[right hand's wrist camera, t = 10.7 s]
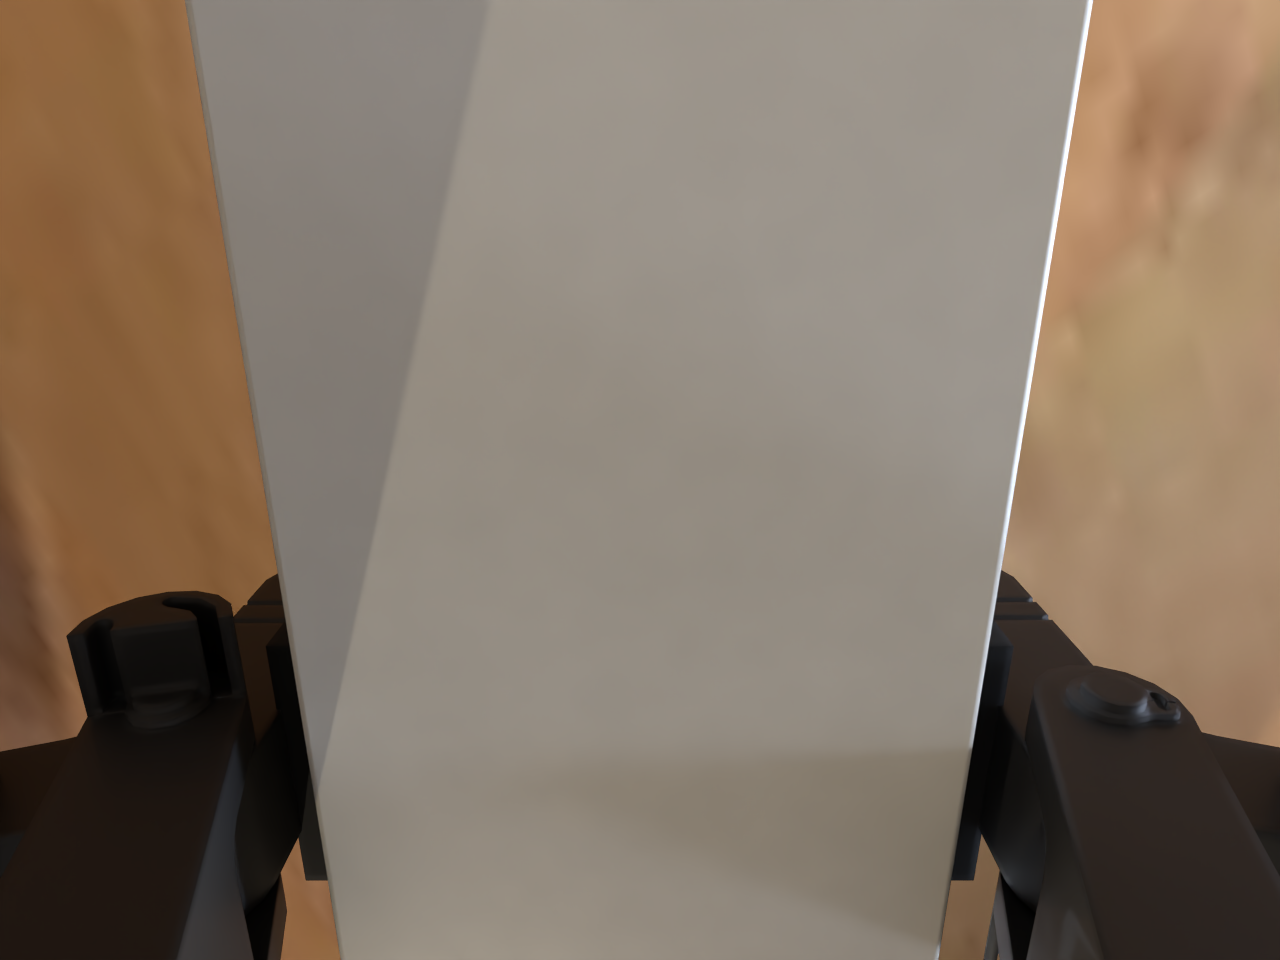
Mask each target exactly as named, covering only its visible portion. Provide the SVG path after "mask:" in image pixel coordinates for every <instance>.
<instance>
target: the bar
mask: <svg viewBox="0 0 1280 960" xmlns="http://www.w3.org/2000/svg"><path fill="white" fill-rule="evenodd" d="M1092 2H1093V0H185V4H186V11H187V17H188V23H189V29H190V35H191V41H192V47H193V54H194V60H195V66H196V72H197V78H198V84H199V90H200V97H201V103H202V109H203V115H204V121H205V127H206V134H207V140H208V146H209V152H210V158H211V164H212V170H213V177H214V183H215V189H216V195H217V201H218V207H219V213H220V220H221V226H222V232H223V238H224V244H225V250H226V256H227V263H228V269H229V275H230V281H231V287H232V293H233V300H234V306H235V312H236V318H237V324H238V330H239V336H240V343H241V349H242V355H243V361H244V367H245V373H246V379H247V386H248V392H249V398H250V404H251V410H252V416H253V423H254V429H255V435H256V441H257V447H258V453H259V459H260V466H261V472H262V478H263V484H264V490H265V496H266V502H267V509H268V515H269V521H270V527H271V533H272V539H273V545H274V552H275V558H276V564H277V570H278V576H279V582H280V589H281V595H282V601H283V607H284V613H285V619H286V625H287V632H288V638H289V644H290V650H291V656H292V662H293V668H294V675H295V681H296V687H297V693H298V699H299V705H300V711H301V718H302V724H303V730H304V736H305V742H306V748H307V755H308V761H309V767H310V773H311V779H312V785H313V791H314V798H315V804H316V810H317V816H318V822H319V828H320V834H321V841H322V847H323V853H324V859H325V865H326V871H327V878H328V884H329V890H330V896H331V902H332V908H333V914H334V921H335V927H336V933H337V939H338V945H339V951H340V957H341V960H938V958H939V951H940V945H941V939H942V933H943V927H944V920H945V914H946V908H947V902H948V896H949V889H950V883H951V877H952V871H953V865H954V858H955V852H956V846H957V840H958V834H959V827H960V821H961V815H962V809H963V803H964V796H965V790H966V784H967V778H968V771H969V765H970V759H971V753H972V747H973V740H974V734H975V728H976V722H977V716H978V709H979V703H980V697H981V691H982V685H983V678H984V672H985V666H986V660H987V654H988V647H989V641H990V635H991V629H992V623H993V616H994V610H995V604H996V598H997V592H998V585H999V579H1000V573H1001V567H1002V561H1003V554H1004V548H1005V542H1006V536H1007V530H1008V523H1009V517H1010V511H1011V505H1012V499H1013V492H1014V486H1015V480H1016V474H1017V468H1018V461H1019V455H1020V449H1021V443H1022V437H1023V430H1024V424H1025V418H1026V412H1027V406H1028V399H1029V393H1030V387H1031V381H1032V375H1033V368H1034V362H1035V356H1036V350H1037V344H1038V337H1039V331H1040V325H1041V319H1042V313H1043V306H1044V300H1045V294H1046V288H1047V281H1048V275H1049V269H1050V263H1051V257H1052V250H1053V244H1054V238H1055V232H1056V226H1057V219H1058V213H1059V207H1060V201H1061V195H1062V188H1063V182H1064V176H1065V170H1066V164H1067V157H1068V151H1069V145H1070V139H1071V133H1072V126H1073V120H1074V114H1075V108H1076V102H1077V95H1078V89H1079V83H1080V77H1081V71H1082V64H1083V58H1084V52H1085V46H1086V40H1087V33H1088V27H1089V21H1090V15H1091V9H1092Z"/></svg>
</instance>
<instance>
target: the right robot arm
mask: <svg viewBox="0 0 1280 960" xmlns="http://www.w3.org/2000/svg"><path fill="white" fill-rule="evenodd" d="M67 640H68V644H69V648H70V651H71V655H72V659H73V663H74V667H75V670H76V674H77V678H78V682H79V686H80V689H81V693H82V697H83V701H84V705H85V708H86V712H87V716H88V717H87V719H86V721H85V723H84V725H83V726H82V728H81V730H80V732H79V734H78V736H77V737H73V738H69V739H65V740H60V741H55V742H50V743H44V744H39V745H33V746H28V747H23V748H17V749H12V750H7V751H1V752H0V960H280V959H281V952H282V944H283V937H284V929H285V922H286V914H287V908H286V901H285V894H284V889H283V883H282V878H281V870H282V868H283V866H284V864H285V862H286V860H287V859H288V857H289V855H290V853H291V851H292V849H293V847H294V845H295V843H296V841H297V839H298V838H299V843H300V849H301V855H302V861H303V867H304V872H305V878H306V880H328V878H327V871H326V865H325V859H324V853H323V847H322V841H321V834H320V828H319V822H318V816H317V810H316V804H315V798H314V791H313V785H312V779H311V773H310V767H309V761H308V755H307V748H306V742H305V736H304V730H303V724H302V718H301V711H300V705H299V699H298V693H297V687H296V681H295V675H294V668H293V662H292V656H291V650H290V644H289V638H288V632H287V625H286V619H285V613H284V607H283V601H282V595H281V589H280V582H279V576H278V574H276V575H274V576H273V577H271V578H269V579H267V580H266V581H265V582H264V583H263V584H262V585H261V587H260V588H259V589H258V590H257V591H256V592H255V593H254V594H253V596H252V597H251V598H250V599H249V600H248V604H247V605H244V606H243V607H242V608H241V609H240V610H239V611H238V612H237V613H236V615H235V616H234V617H233V612H232V607H231V603H229V602H228V601H226V600H225V599H223V598H222V597H220V596H219V595H216V594H210V593H205V592H199V591H179V592H165V593H160V594H154V595H149V596H143V597H138V598H135V599H132V600H129V601H126V602H123V603H120V604H117V605H114V606H111V607H108V608H106V609H104V610H102V611H100V612H98V613H97V614H95V615H93V616H91V617H89V618H87V619H85V620H83V621H82V622H81V623H80V624H79V625H78V626H77V627H75V628H74V629H73V630H72V631H71V632H70V633H69V634H68V635H67ZM981 834H982V835H983V837H984V839H985V841H986V843H987V845H988V847H989V849H990V851H991V853H992V855H993V857H994V859H995V861H996V863H997V865H998V867H999V869H1000V872H999V878H998V883H997V889H996V894H995V899H994V905H993V910H992V916H991V921H990V927H989V932H988V937H987V943H986V948H985V954H984V960H997V956H998V954H999V957H1000V960H1280V748H1279V747H1274V746H1268V745H1263V744H1257V743H1252V742H1247V741H1241V740H1236V739H1230V738H1225V737H1220V736H1215V735H1211V734H1206V733H1202V732H1201V730H1200V728H1199V727H1198V725H1197V723H1196V721H1195V719H1194V717H1193V716H1192V714H1191V713H1190V712H1189V711H1188V710H1187V709H1186V708H1185V707H1184V705H1183V704H1182V703H1181V702H1180V701H1179V700H1178V699H1177V698H1176V697H1174V696H1172V695H1171V694H1169V693H1168V692H1166V691H1165V690H1163V689H1161V688H1160V687H1158V686H1157V685H1155V684H1153V683H1151V682H1148V681H1146V680H1143V679H1141V678H1138V677H1136V676H1133V675H1131V674H1128V673H1126V672H1121V671H1116V670H1112V669H1107V668H1103V667H1098V666H1093V665H1092V664H1091V663H1090V662H1089V660H1088V659H1087V658H1086V657H1085V656H1084V655H1083V654H1082V653H1081V652H1080V650H1079V649H1078V648H1077V647H1076V646H1075V645H1074V644H1073V643H1072V642H1071V640H1070V639H1069V638H1068V637H1067V636H1066V635H1065V634H1064V633H1063V631H1062V630H1061V629H1060V628H1059V627H1058V626H1057V625H1056V624H1055V623H1054V621H1053V620H1048V615H1047V614H1046V613H1045V611H1044V610H1043V609H1042V608H1041V607H1040V606H1039V605H1038V604H1037V603H1036V602H1033V601H1032V597H1031V596H1030V595H1029V594H1028V592H1027V591H1026V590H1025V589H1024V588H1023V587H1022V586H1021V585H1020V584H1019V582H1018V581H1017V580H1016V579H1015V578H1014V577H1013V576H1011V575H1009V574H1007V573H1006V572H1004V571H1002V570H1001V573H1000V579H999V585H998V592H997V598H996V604H995V610H994V616H993V623H992V629H991V635H990V641H989V647H988V654H987V660H986V666H985V672H984V678H983V685H982V691H981V697H980V703H979V709H978V716H977V722H976V728H975V734H974V740H973V747H972V753H971V759H970V765H969V771H968V778H967V784H966V790H965V796H964V803H963V809H962V815H961V821H960V827H959V834H958V840H957V846H956V852H955V858H954V865H953V871H952V877H951V880H974V875H975V869H976V863H977V857H978V851H979V846H980V840H981Z"/></svg>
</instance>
